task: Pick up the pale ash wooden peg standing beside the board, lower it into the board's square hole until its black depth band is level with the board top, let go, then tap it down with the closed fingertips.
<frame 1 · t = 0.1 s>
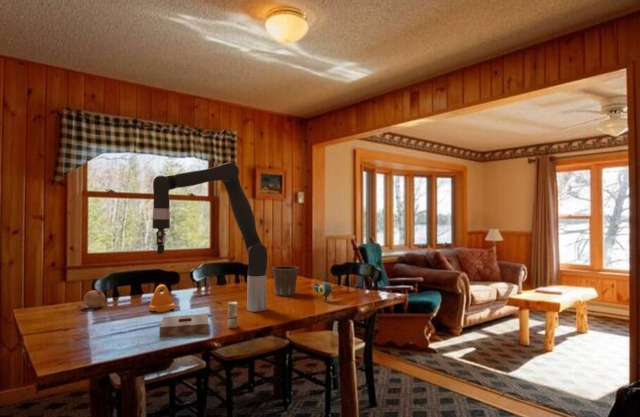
hand: (160, 253, 184), 29 cm above the table, tool pointing down, fingers open, 8 cm apart
bracket: (162, 310, 195), on the table
decorative fish: (322, 301, 217), on the table
plant pot: (285, 294, 236), on the table
peg: (232, 326, 167), on the table
board: (184, 329, 161), on the table
onion: (94, 308, 199), on the table
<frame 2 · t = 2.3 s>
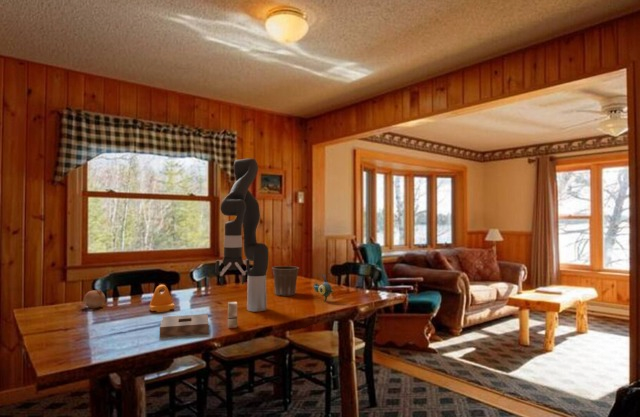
hand: (232, 284, 167), 18 cm above the table, tool pointing down, fingers open, 8 cm apart
nothing on the table moved.
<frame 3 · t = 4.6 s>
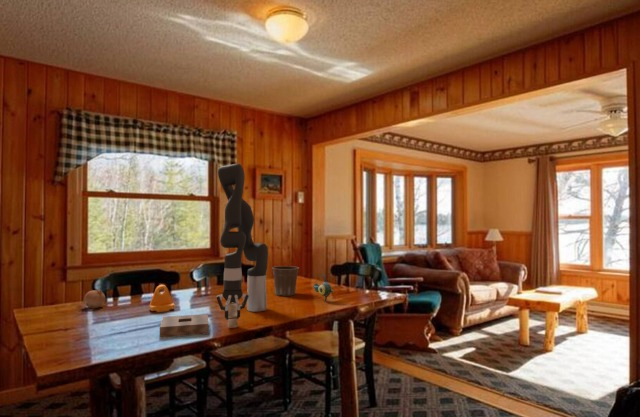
hand: (232, 318, 167), 3 cm above the table, tool pointing down, fingers closed on peg, 3 cm apart
peg: (232, 326, 167), on the table, touching gripper
everything else where it was.
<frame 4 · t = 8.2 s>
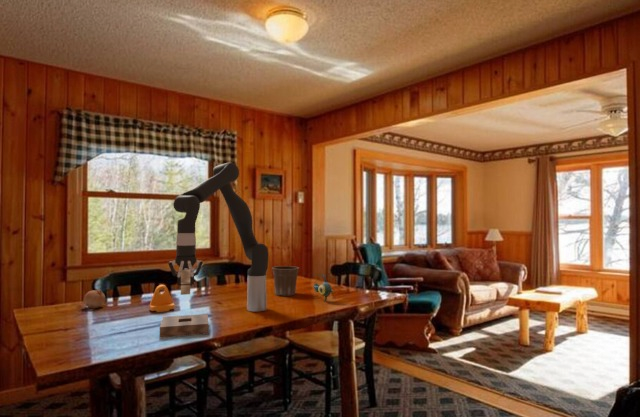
hand: (185, 285, 162), 18 cm above the table, tool pointing down, fingers closed on peg, 3 cm apart
peg: (185, 293, 162), point 15 cm above the table, touching gripper
everything else where it was.
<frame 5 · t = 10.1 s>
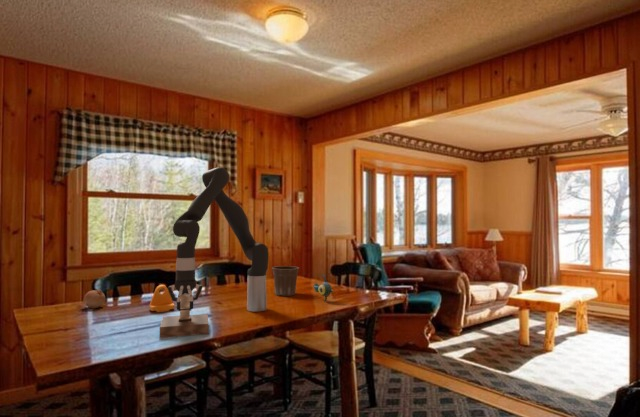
hand: (184, 310, 161), 8 cm above the table, tool pointing down, fingers closed on peg, 3 cm apart
peg: (184, 318, 161), point 5 cm above the table, touching gripper
everything else where it was.
when the fingers open (5 cm above the table, at t = 11.7 s): peg drops 2 cm, resting in board.
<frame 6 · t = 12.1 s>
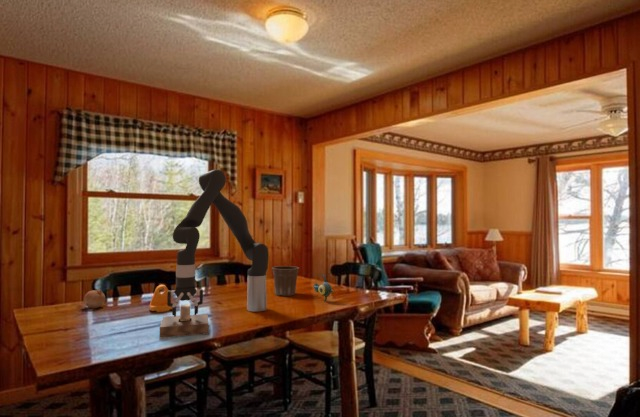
hand: (185, 315, 161), 6 cm above the table, tool pointing down, fingers open, 7 cm apart
peg: (185, 330, 161), resting in board
everything else where it was.
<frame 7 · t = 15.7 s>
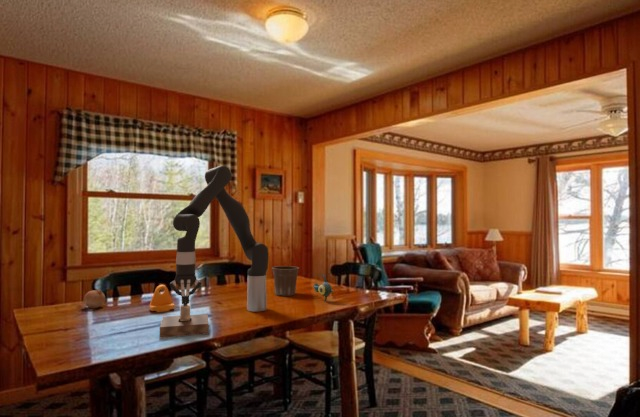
hand: (185, 304, 161), 10 cm above the table, tool pointing down, fingers closed
nothing on the table moved.
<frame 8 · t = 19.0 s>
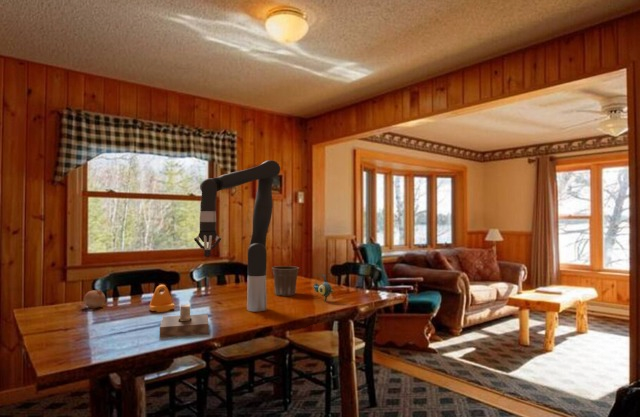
hand: (207, 257, 186), 27 cm above the table, tool pointing down, fingers closed
nothing on the table moved.
at the end: peg 0.1 cm off-centre on the board, point 0.0 cm above the board's base; peg tilted 0°; the gripper is holding nothing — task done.
